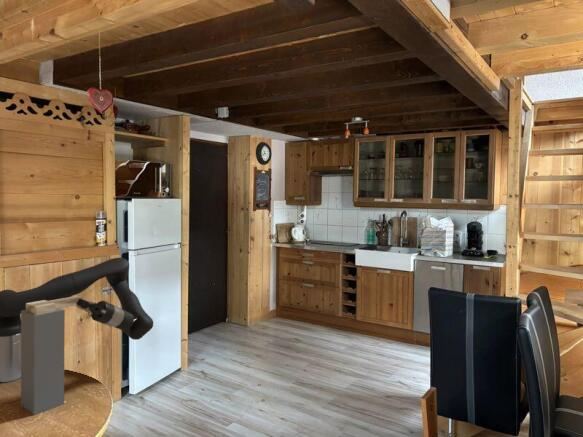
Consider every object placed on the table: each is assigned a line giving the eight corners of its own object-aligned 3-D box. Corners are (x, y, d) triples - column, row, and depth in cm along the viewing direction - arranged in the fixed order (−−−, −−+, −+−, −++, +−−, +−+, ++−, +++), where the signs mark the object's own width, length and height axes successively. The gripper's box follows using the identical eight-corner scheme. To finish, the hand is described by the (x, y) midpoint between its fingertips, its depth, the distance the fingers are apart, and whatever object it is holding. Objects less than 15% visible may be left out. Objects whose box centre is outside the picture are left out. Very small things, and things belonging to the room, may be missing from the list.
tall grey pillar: (21, 406, 144) (21, 310, 142) (50, 396, 151) (50, 305, 150) (34, 415, 139) (34, 316, 137) (64, 403, 146) (64, 310, 145)
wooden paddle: (25, 310, 142) (25, 303, 142) (75, 301, 156) (75, 294, 156) (36, 314, 138) (36, 307, 138) (86, 305, 152) (86, 297, 152)
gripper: (101, 301, 168) (65, 286, 156) (124, 308, 160) (88, 292, 148) (92, 320, 166) (55, 306, 154) (114, 327, 157) (77, 313, 146)
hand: (71, 299), depth 151 cm, fingers open, 8 cm apart
